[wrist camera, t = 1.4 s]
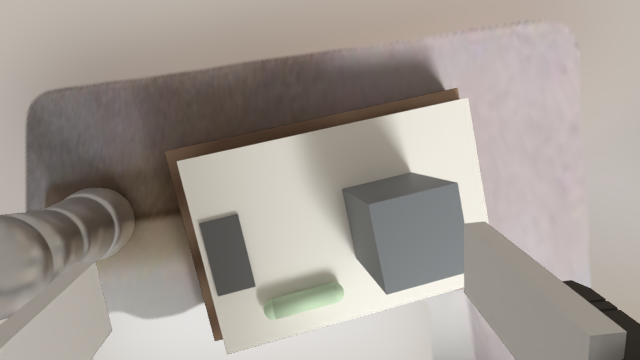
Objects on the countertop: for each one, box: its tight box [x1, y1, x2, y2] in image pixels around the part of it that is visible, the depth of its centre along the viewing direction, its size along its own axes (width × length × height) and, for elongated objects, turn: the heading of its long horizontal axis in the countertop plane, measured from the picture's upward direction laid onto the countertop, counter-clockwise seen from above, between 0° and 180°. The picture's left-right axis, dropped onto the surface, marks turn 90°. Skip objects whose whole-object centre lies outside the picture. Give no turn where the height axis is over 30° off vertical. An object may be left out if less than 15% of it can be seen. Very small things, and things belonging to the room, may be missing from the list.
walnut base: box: [165, 88, 463, 341], centre depth 39 cm, size 18×26×3 cm
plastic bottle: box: [0, 188, 135, 320], centre depth 30 cm, size 6×7×20 cm
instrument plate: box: [177, 98, 489, 354], centre depth 31 cm, size 16×24×9 cm, turn 102°
